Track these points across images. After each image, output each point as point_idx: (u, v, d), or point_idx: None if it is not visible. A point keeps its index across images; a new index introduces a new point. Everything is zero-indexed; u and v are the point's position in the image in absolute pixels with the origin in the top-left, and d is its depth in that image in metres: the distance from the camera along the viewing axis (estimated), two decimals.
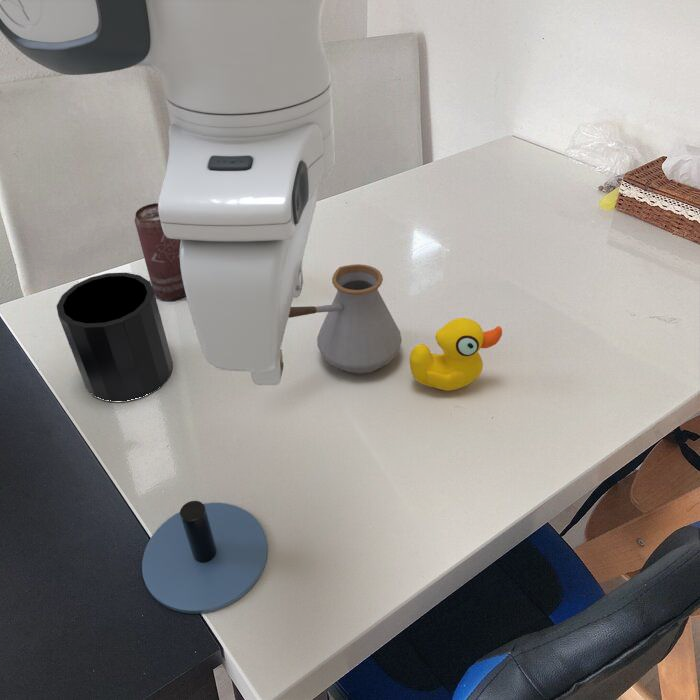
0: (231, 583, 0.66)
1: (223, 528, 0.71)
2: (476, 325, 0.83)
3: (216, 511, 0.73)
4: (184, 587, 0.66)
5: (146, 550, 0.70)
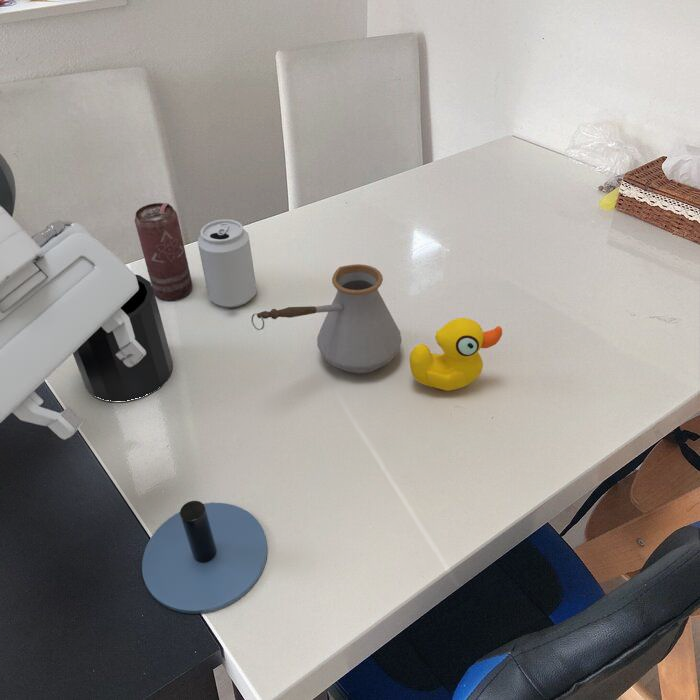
0: (231, 583, 0.66)
1: (223, 528, 0.71)
2: (476, 325, 0.83)
3: (216, 511, 0.73)
4: (184, 587, 0.66)
5: (146, 550, 0.70)
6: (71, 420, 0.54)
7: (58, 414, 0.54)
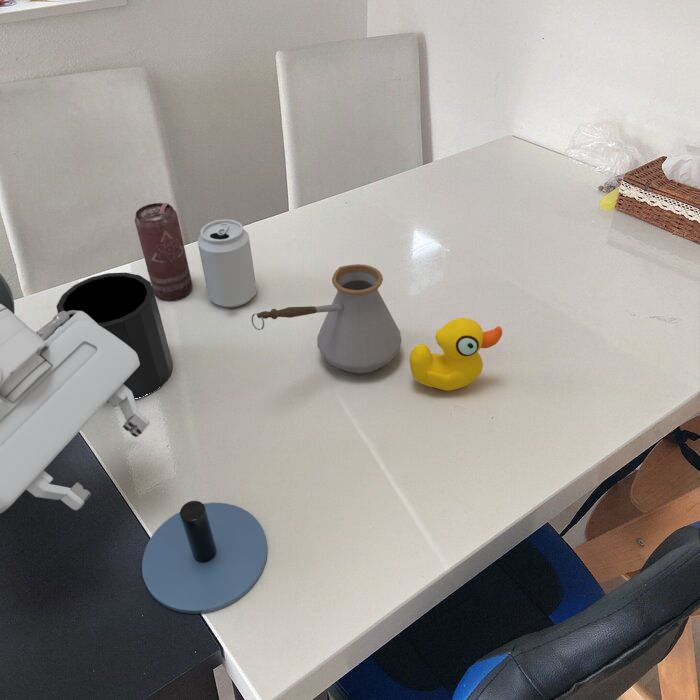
0: (231, 583, 0.66)
1: (223, 528, 0.71)
2: (476, 325, 0.83)
3: (216, 511, 0.73)
4: (184, 587, 0.66)
5: (146, 550, 0.70)
6: (79, 493, 0.60)
7: (67, 489, 0.60)
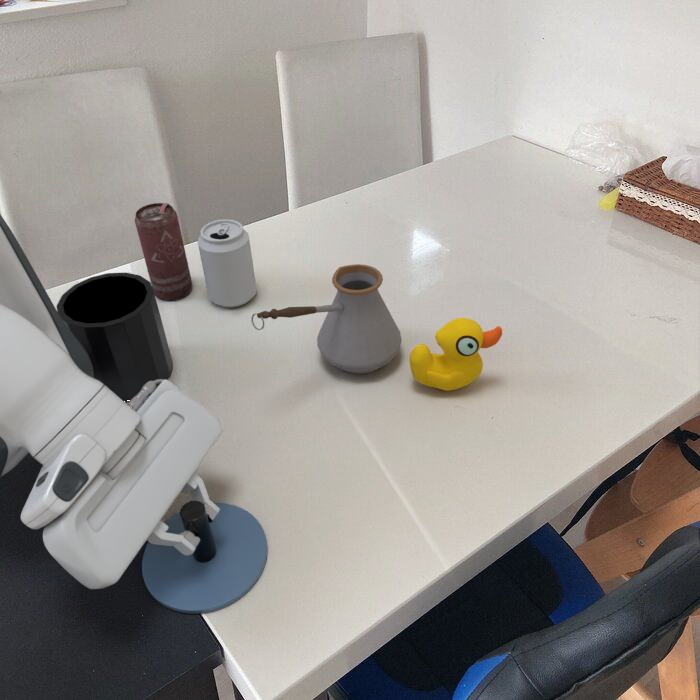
0: (231, 583, 0.66)
1: (223, 528, 0.71)
2: (476, 325, 0.83)
3: None
4: (184, 587, 0.66)
5: (146, 550, 0.70)
6: (191, 540, 0.64)
7: (181, 536, 0.64)
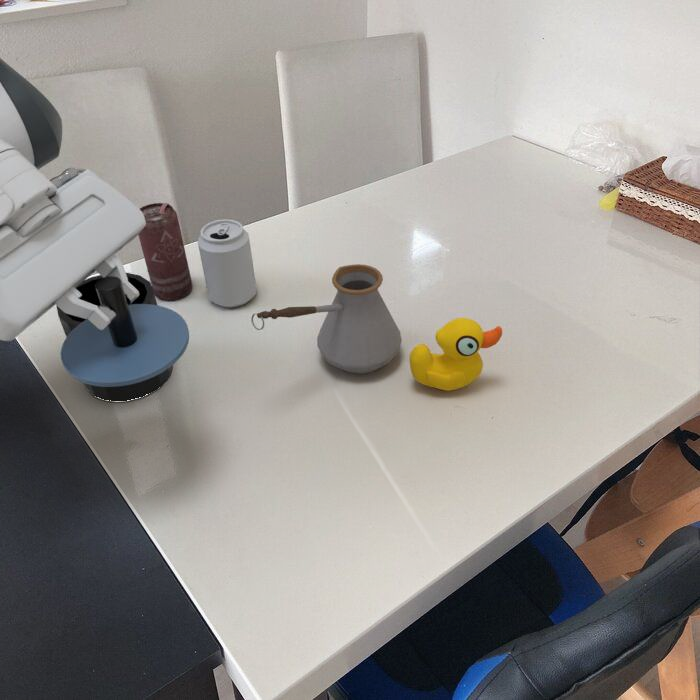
0: (148, 362, 0.66)
1: (146, 322, 0.71)
2: (476, 325, 0.83)
3: (141, 310, 0.73)
4: (101, 365, 0.66)
5: (67, 338, 0.69)
6: (106, 312, 0.64)
7: (95, 306, 0.64)
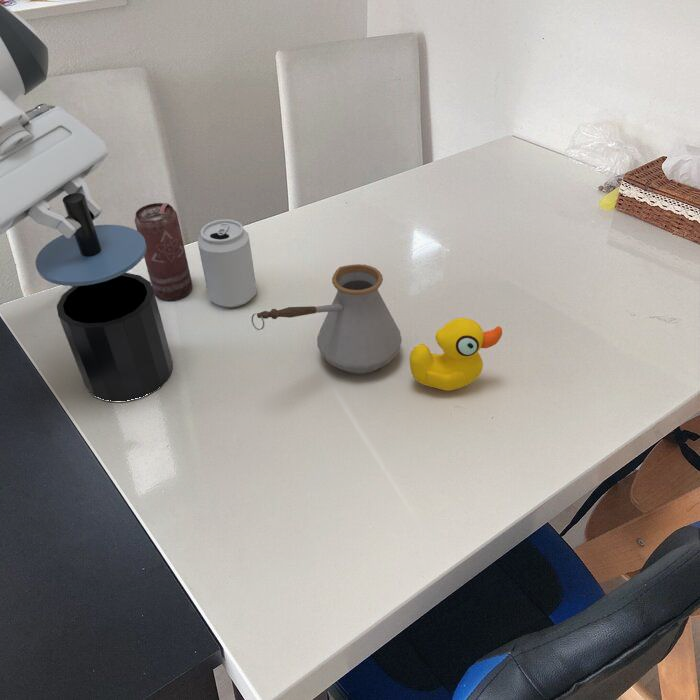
0: (109, 267, 0.77)
1: (110, 238, 0.82)
2: (476, 325, 0.83)
3: (106, 229, 0.84)
4: (69, 269, 0.77)
5: (41, 251, 0.81)
6: (72, 222, 0.76)
7: (62, 217, 0.75)
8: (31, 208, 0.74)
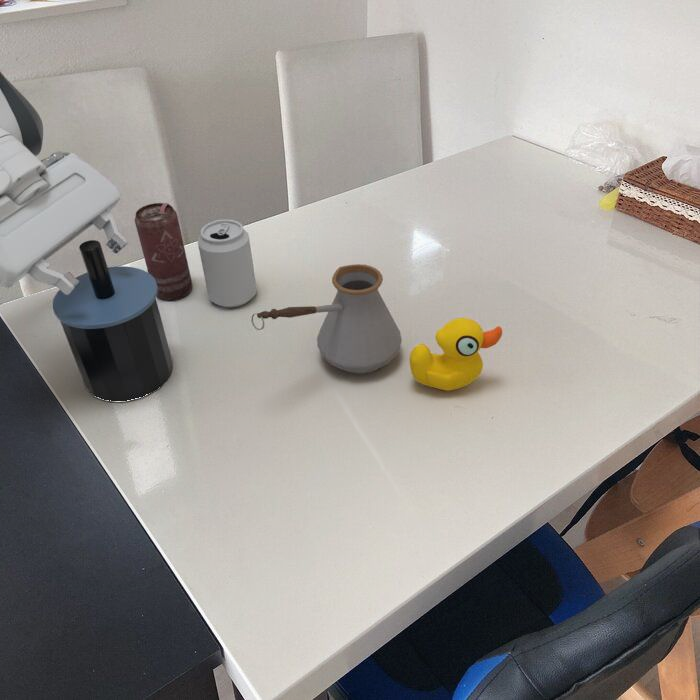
0: (123, 310, 0.82)
1: (123, 280, 0.87)
2: (476, 325, 0.83)
3: (119, 271, 0.88)
4: (85, 312, 0.81)
5: (57, 293, 0.85)
6: (70, 279, 0.77)
7: (61, 274, 0.77)
8: None
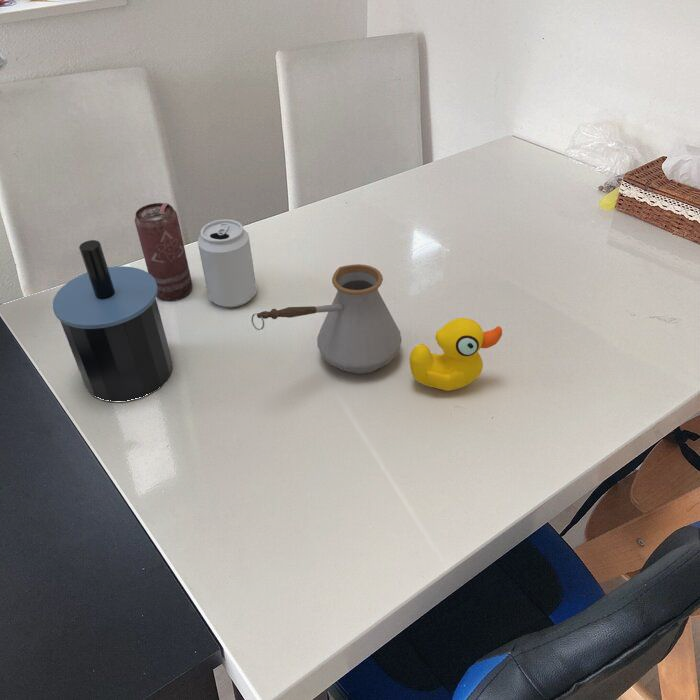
0: (123, 310, 0.82)
1: (123, 280, 0.87)
2: (476, 325, 0.83)
3: (119, 271, 0.88)
4: (85, 312, 0.81)
5: (57, 293, 0.85)
6: None
7: None
8: None
